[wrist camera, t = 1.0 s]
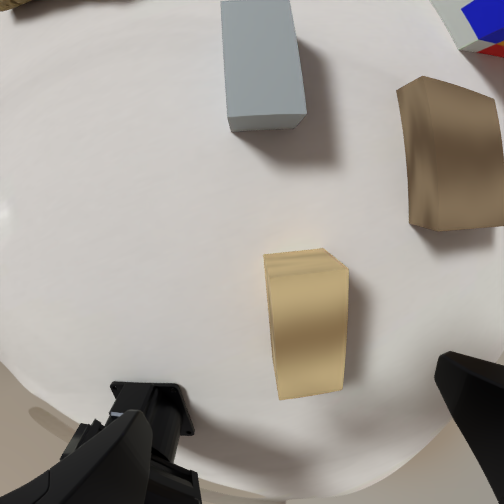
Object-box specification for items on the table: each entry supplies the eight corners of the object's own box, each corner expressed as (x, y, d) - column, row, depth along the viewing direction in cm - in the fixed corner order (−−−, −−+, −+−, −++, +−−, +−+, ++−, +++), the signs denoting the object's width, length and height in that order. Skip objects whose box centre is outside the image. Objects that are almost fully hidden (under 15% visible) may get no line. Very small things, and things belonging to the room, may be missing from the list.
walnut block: (474, 218, 18) (505, 225, 14) (406, 222, 18) (438, 231, 14) (464, 106, 16) (494, 99, 12) (394, 91, 16) (422, 75, 12)
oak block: (323, 349, 20) (342, 389, 15) (272, 356, 20) (279, 400, 15) (322, 247, 18) (348, 268, 13) (263, 254, 18) (269, 278, 13)
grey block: (293, 129, 17) (306, 114, 13) (231, 132, 17) (227, 117, 13) (281, 29, 15) (289, -1, 11) (224, 32, 15) (220, 1, 11)
